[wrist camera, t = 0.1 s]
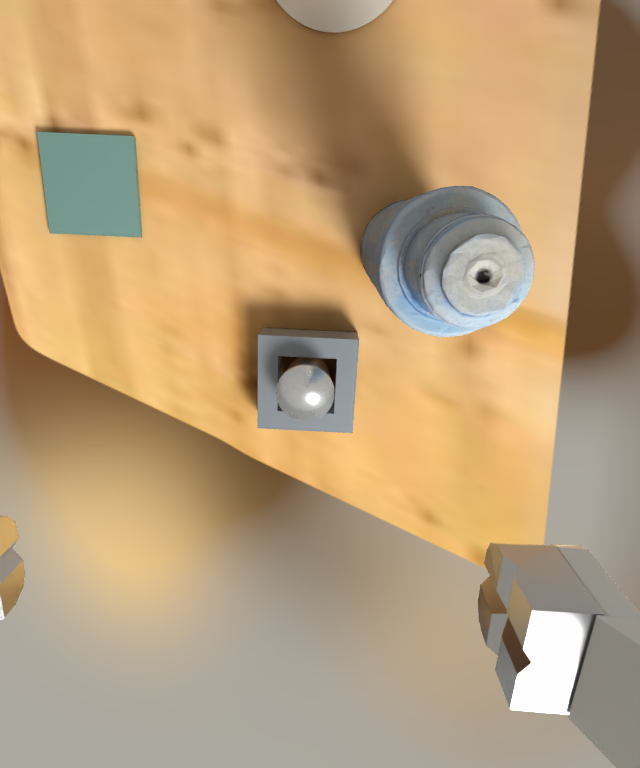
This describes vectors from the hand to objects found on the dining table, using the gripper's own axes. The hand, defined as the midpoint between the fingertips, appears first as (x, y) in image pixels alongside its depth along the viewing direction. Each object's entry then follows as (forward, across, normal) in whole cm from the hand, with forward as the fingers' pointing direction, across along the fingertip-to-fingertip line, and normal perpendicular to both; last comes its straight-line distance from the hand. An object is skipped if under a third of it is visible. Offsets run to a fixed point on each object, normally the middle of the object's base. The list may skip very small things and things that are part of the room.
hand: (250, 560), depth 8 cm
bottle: (+48, -9, -4) cm, 49 cm away
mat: (+48, +25, -9) cm, 55 cm away
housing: (+48, +1, +11) cm, 49 cm away
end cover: (+48, +1, +11) cm, 49 cm away
